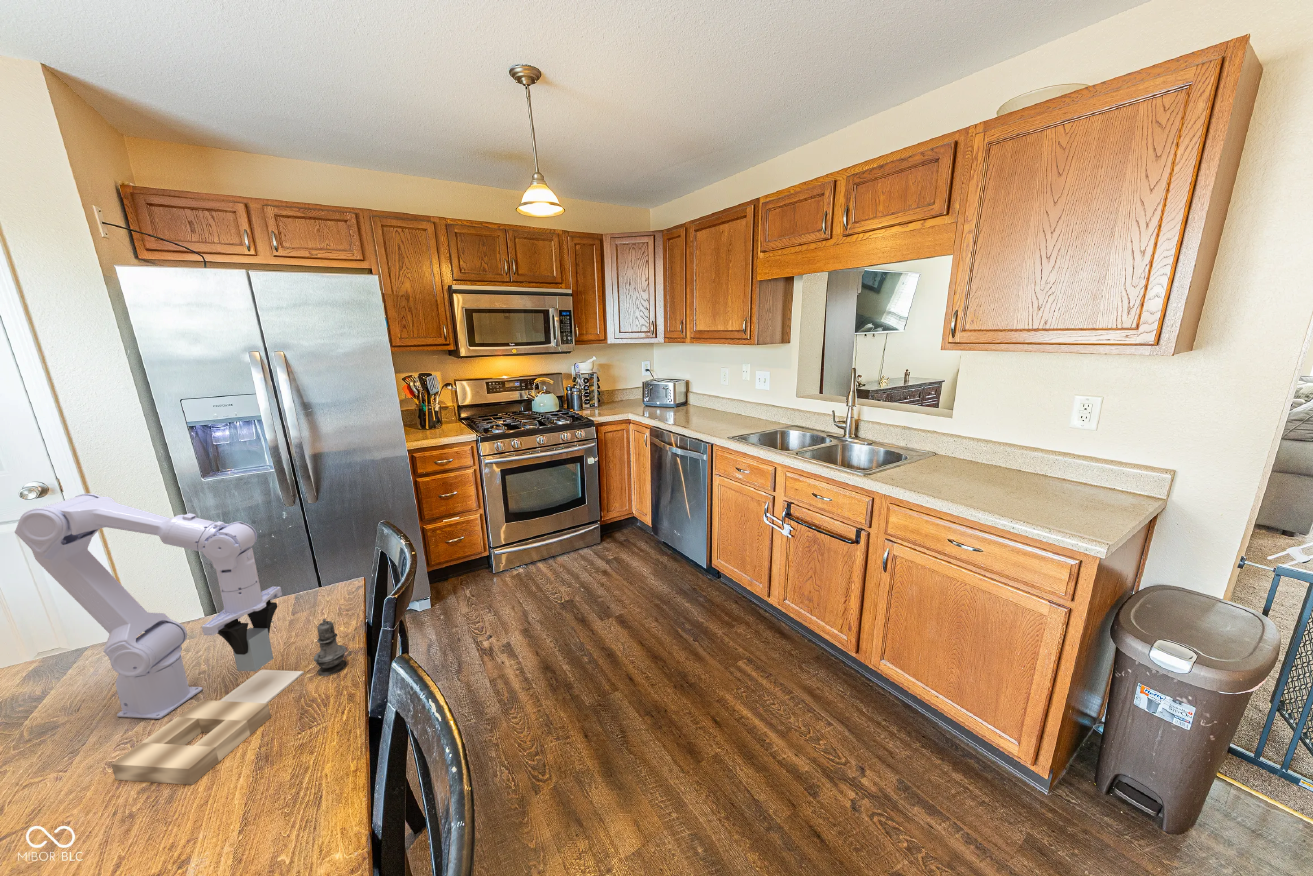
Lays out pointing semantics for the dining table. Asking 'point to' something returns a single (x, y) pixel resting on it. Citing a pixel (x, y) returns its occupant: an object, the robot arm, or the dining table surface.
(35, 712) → the dining table surface
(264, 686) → the coaster
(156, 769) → the pocket board
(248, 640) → the peg
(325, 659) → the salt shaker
